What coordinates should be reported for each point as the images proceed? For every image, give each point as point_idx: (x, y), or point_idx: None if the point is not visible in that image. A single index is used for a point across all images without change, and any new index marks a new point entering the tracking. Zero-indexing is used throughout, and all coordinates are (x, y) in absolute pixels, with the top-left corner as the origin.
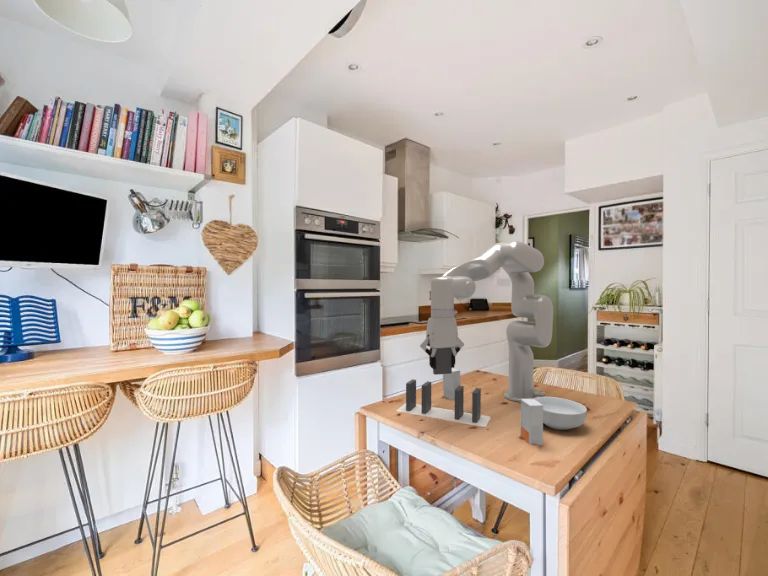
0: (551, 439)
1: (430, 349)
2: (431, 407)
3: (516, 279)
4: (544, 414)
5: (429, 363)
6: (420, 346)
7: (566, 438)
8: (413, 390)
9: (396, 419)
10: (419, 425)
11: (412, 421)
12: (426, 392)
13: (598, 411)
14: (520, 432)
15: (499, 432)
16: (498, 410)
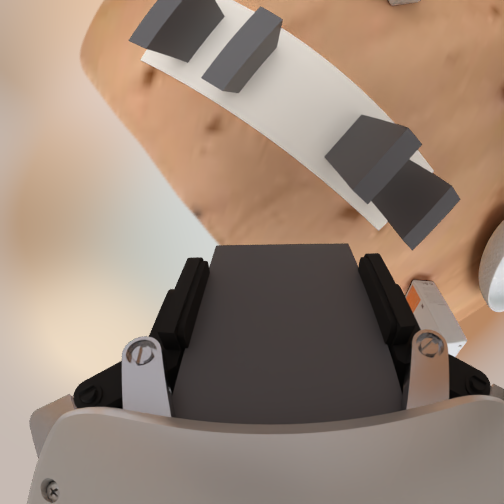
0: (447, 293)
1: (134, 409)
2: (282, 36)
3: None
4: (483, 286)
5: (166, 297)
6: (38, 420)
7: (467, 292)
8: (189, 20)
9: (136, 116)
10: (197, 168)
11: (182, 135)
12: (233, 84)
13: None
14: (416, 286)
15: (393, 251)
16: (475, 127)
